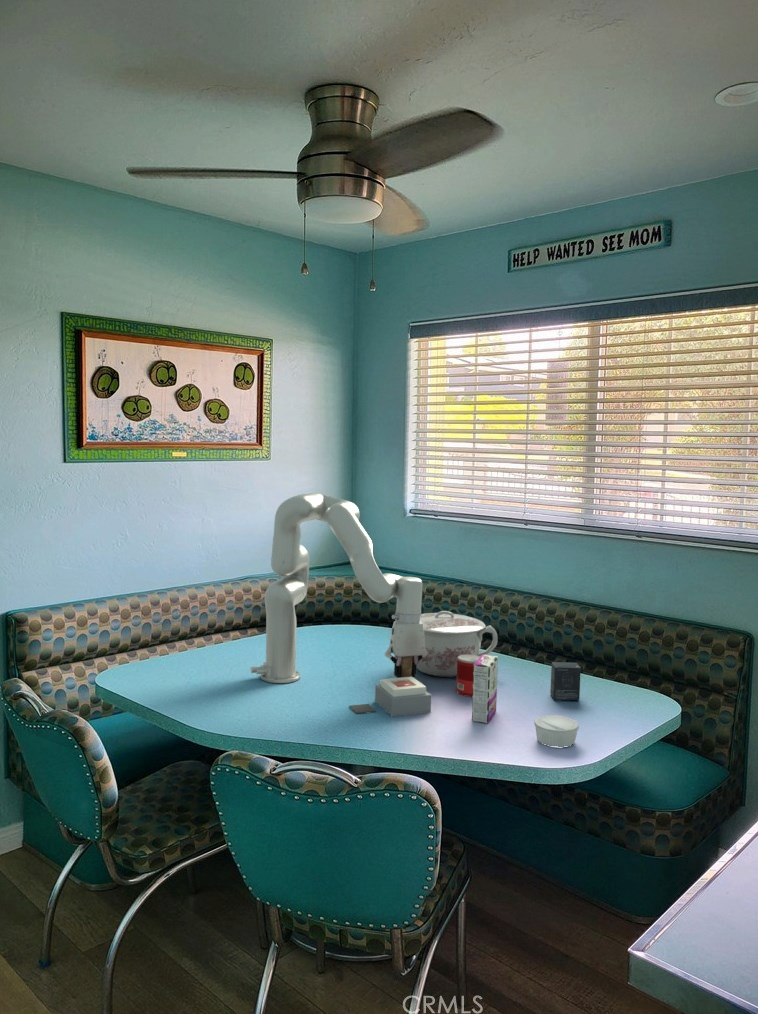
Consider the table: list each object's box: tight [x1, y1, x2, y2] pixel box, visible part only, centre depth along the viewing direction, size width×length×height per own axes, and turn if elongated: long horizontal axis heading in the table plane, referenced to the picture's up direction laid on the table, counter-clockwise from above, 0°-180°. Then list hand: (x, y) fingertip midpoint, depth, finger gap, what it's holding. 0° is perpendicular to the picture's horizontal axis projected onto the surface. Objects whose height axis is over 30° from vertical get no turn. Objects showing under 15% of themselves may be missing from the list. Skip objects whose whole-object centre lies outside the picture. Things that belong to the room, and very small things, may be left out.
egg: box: [395, 681, 411, 687], centre depth 227 cm, size 5×5×4 cm
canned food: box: [455, 654, 480, 697], centre depth 241 cm, size 8×8×11 cm
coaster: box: [348, 703, 377, 715], centre depth 223 cm, size 6×6×1 cm
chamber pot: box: [416, 610, 499, 678], centre depth 262 cm, size 28×28×21 cm
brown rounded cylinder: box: [400, 656, 413, 678], centre depth 239 cm, size 4×4×14 cm
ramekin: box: [534, 714, 580, 747], centre depth 204 cm, size 11×11×5 cm
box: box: [549, 661, 582, 701], centre depth 239 cm, size 8×6×11 cm
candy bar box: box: [471, 654, 499, 725], centre depth 220 cm, size 11×5×16 cm, turn 160°
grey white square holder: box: [374, 677, 432, 717], centre depth 227 cm, size 12×13×7 cm
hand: (404, 676), depth 239 cm, fingers closed on brown rounded cylinder, 4 cm apart
